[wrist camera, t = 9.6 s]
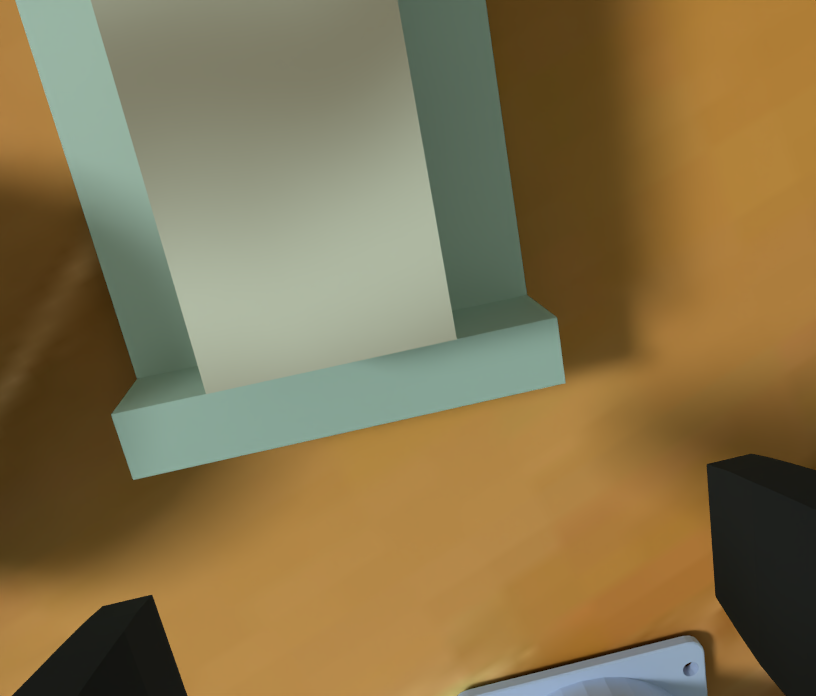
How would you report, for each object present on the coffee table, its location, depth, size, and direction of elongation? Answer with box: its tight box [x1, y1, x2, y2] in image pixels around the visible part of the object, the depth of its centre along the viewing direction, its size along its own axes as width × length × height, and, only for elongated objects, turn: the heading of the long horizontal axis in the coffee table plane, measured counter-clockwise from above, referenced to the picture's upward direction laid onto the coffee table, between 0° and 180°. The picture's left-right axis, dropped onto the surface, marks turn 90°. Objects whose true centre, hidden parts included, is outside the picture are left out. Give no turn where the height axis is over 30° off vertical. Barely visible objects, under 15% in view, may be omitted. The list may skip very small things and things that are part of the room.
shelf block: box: [91, 0, 457, 394], centre depth 13 cm, size 10×4×4 cm, turn 11°
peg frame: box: [15, 0, 565, 480], centre depth 15 cm, size 16×10×3 cm, turn 11°
